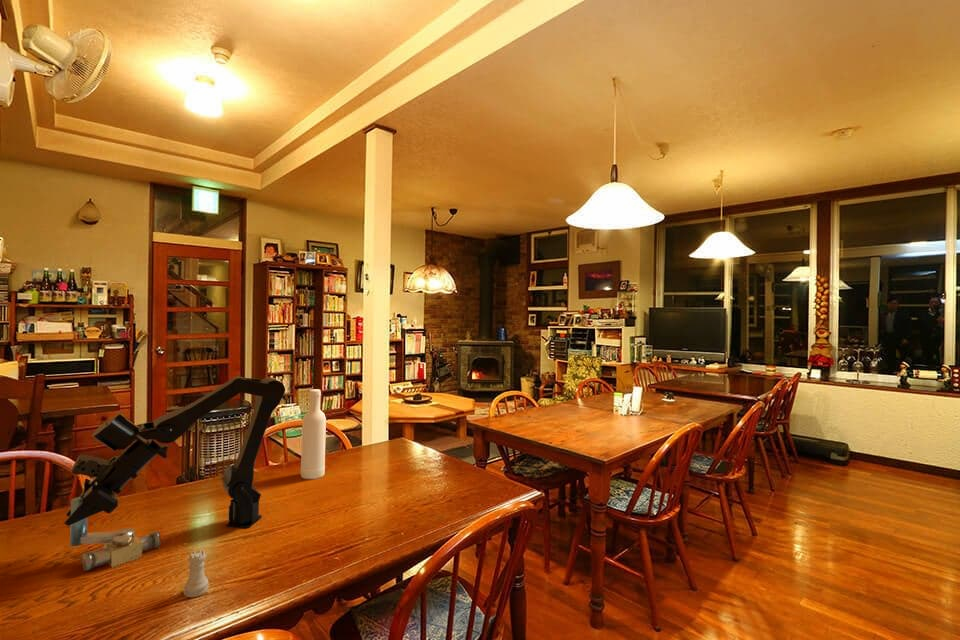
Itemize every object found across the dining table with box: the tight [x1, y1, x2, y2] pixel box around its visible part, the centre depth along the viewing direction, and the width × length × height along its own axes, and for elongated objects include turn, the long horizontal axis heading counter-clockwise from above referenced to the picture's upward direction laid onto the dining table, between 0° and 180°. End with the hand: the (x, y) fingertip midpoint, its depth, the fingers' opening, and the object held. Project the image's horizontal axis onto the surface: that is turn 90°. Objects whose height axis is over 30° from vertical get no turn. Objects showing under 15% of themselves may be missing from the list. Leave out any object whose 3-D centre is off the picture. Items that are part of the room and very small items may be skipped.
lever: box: [69, 496, 135, 547], centre depth 104 cm, size 12×4×10 cm, turn 100°
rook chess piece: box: [183, 549, 210, 599], centre depth 93 cm, size 4×4×8 cm
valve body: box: [81, 530, 162, 572], centre depth 104 cm, size 14×6×4 cm, turn 143°
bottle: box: [300, 388, 327, 480], centre depth 159 cm, size 8×8×30 cm
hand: (67, 520), depth 101 cm, fingers open, 4 cm apart
